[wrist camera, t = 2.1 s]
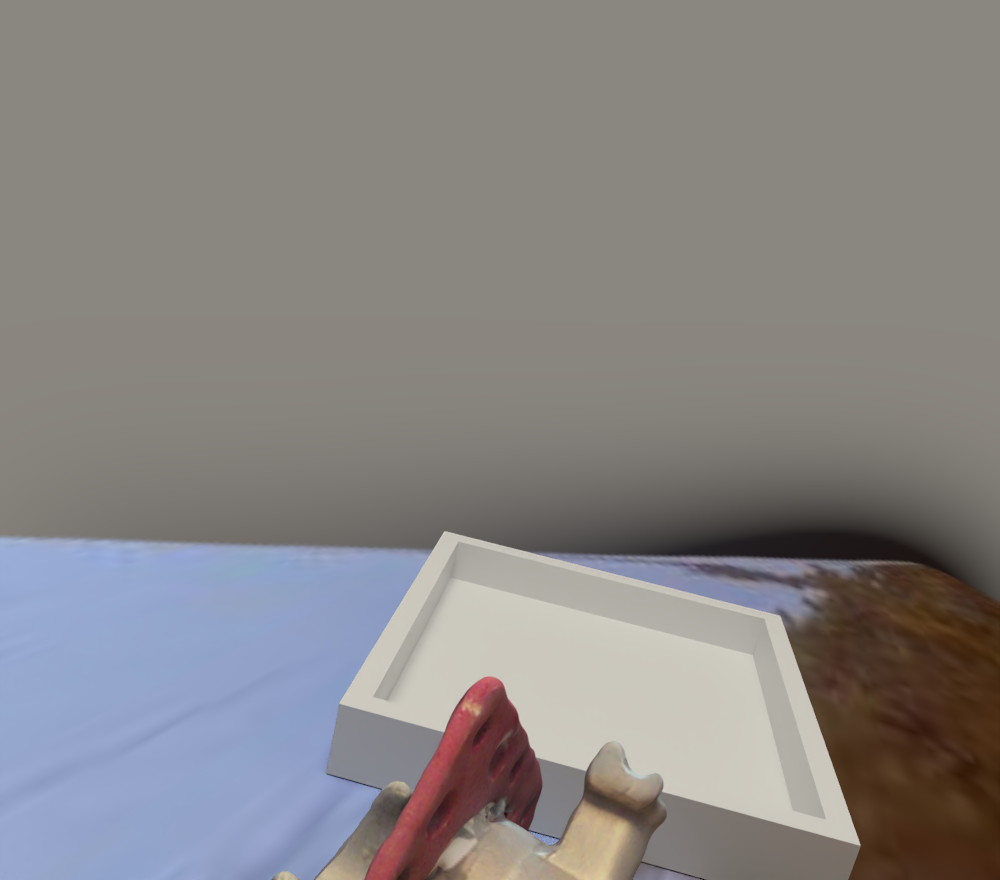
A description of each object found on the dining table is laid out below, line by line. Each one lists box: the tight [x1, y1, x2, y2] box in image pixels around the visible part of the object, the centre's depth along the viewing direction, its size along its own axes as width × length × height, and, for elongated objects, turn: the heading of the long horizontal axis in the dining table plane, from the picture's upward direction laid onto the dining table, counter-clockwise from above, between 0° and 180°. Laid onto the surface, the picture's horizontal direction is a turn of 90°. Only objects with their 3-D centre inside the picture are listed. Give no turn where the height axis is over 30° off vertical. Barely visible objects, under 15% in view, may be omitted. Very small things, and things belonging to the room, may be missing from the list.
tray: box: [327, 531, 861, 880], centre depth 42 cm, size 19×19×3 cm
